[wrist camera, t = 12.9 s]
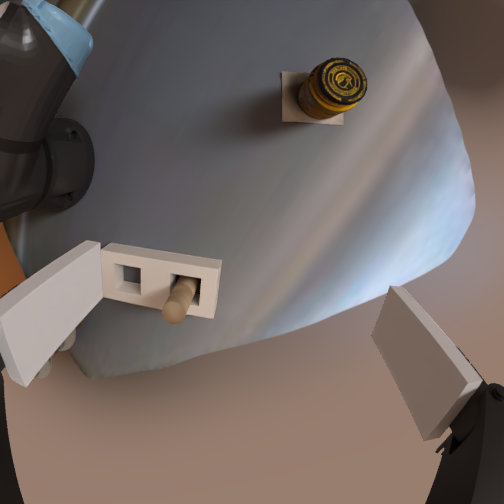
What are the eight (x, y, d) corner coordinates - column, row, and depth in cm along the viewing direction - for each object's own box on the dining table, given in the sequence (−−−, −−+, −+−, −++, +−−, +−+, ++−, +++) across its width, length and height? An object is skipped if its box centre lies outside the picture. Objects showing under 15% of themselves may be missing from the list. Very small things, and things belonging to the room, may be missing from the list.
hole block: (112, 287, 44) (103, 297, 41) (110, 242, 42) (100, 249, 38) (216, 306, 45) (213, 318, 42) (221, 260, 42) (218, 269, 39)
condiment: (343, 125, 36) (376, 116, 24) (282, 121, 36) (293, 107, 24) (341, 77, 33) (373, 51, 22) (281, 72, 33) (291, 41, 22)
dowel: (179, 286, 44) (161, 321, 34) (180, 269, 43) (161, 301, 34) (198, 289, 44) (184, 325, 35) (199, 272, 43) (185, 305, 34)
